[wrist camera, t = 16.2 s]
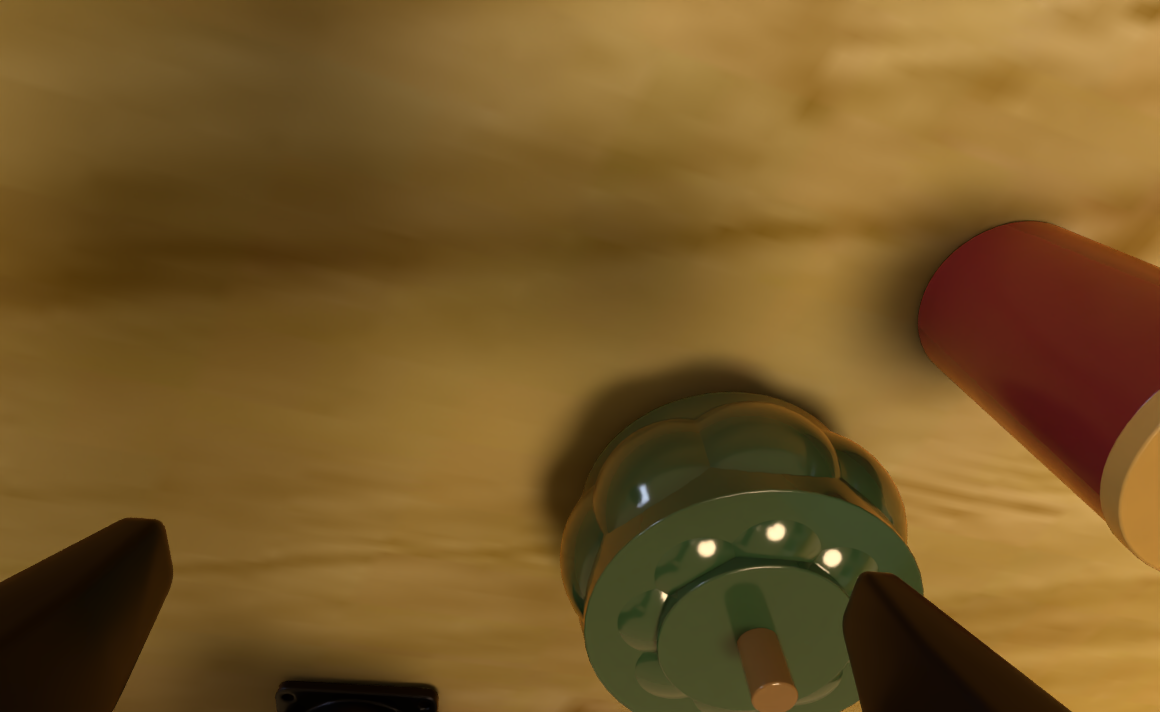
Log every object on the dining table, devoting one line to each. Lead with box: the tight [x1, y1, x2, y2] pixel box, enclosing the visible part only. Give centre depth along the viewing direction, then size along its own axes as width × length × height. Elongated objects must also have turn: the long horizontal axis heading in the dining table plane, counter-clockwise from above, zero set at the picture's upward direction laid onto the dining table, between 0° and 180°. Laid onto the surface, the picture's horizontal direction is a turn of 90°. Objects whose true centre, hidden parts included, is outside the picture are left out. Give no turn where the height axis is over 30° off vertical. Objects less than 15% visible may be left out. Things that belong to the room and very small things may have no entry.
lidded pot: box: [560, 392, 923, 712], centre depth 21 cm, size 11×11×8 cm
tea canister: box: [918, 221, 1160, 571], centre depth 17 cm, size 6×6×9 cm
